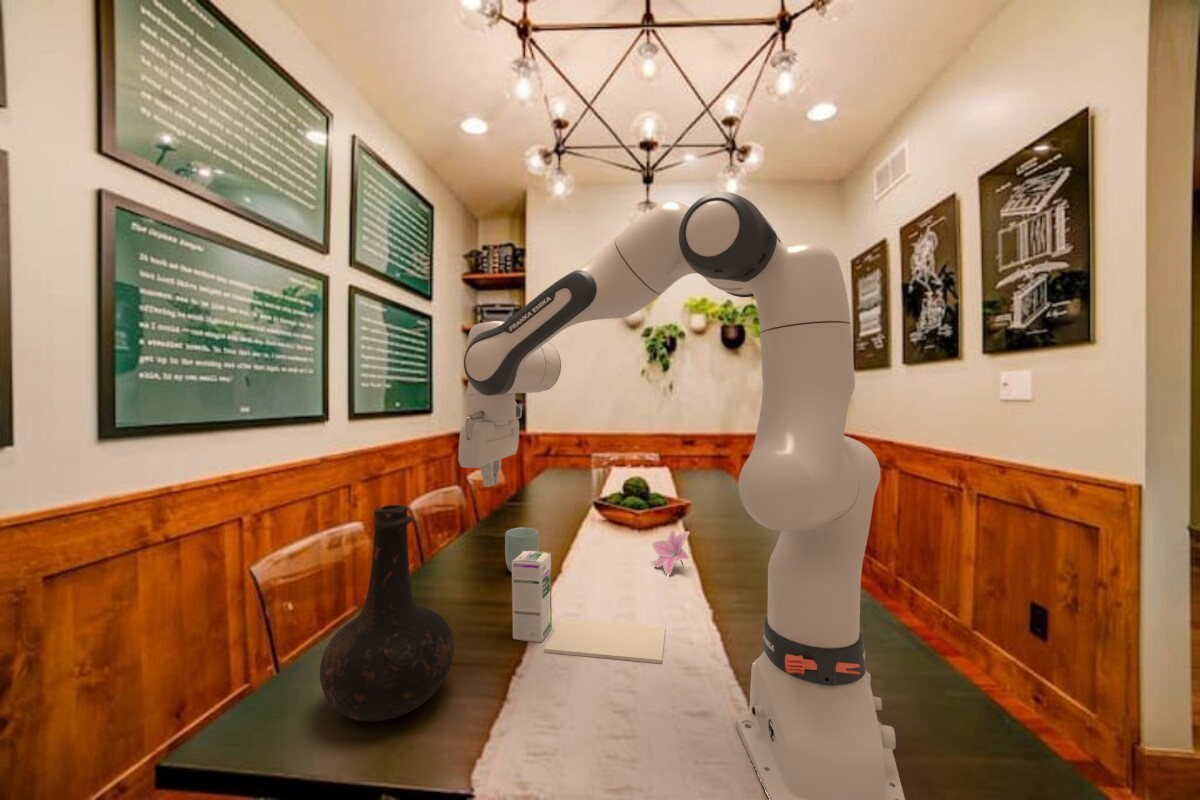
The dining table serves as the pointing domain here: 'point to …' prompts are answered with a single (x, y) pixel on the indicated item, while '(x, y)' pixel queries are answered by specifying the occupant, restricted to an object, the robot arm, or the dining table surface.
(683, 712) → the dining table surface
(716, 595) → the dining table surface
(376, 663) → the glass bottle
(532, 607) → the syrup box
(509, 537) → the cup
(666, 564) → the lily
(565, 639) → the mat
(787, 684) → the robot arm
